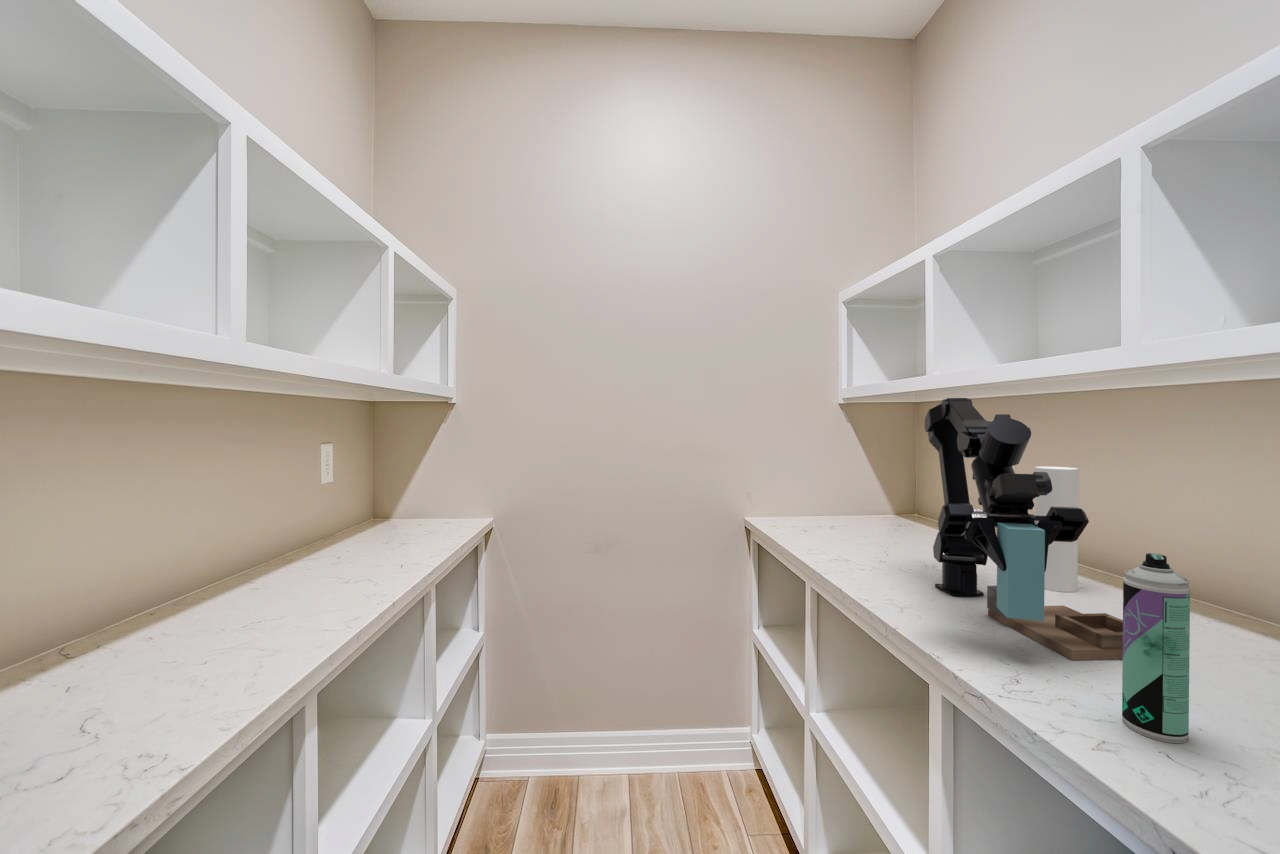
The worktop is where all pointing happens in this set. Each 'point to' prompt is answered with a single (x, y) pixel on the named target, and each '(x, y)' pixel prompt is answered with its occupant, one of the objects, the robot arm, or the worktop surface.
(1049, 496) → the cylindrical container
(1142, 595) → the spray can
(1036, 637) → the walnut base board
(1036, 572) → the teal column
